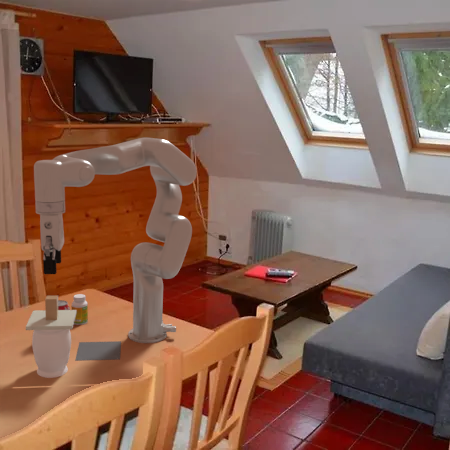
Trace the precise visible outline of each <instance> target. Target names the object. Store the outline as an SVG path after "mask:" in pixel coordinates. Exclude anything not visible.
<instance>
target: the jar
mask: <svg viewBox="0 0 450 450" xmlns="http://www.w3.org/2000/svg"><path fill="white" fill-rule="evenodd" d="M32 331H33V332H32V336H31V337H32V340H31V343H32V345H31V346H32V351H33V352H32V353H33V357H34V361H35V364H36V366H37V370H36V374H37V375H38V376H40V377H42V378H46V379H47V378H48V379H51V378H58V377H62V376H64V375H65V374H66V373H68V371H69V368H68V366H67V365H68V364H69V363H68V362H69V360H70V355H71V354H70V353H71V349H72V333H71V329H63V330H32Z"/></svg>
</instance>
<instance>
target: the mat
mask: <svg viewBox="0 0 450 450" xmlns="http://www.w3.org/2000/svg"><path fill="white" fill-rule="evenodd" d="M121 349H122V341H116V340H115V341H81V342H79V343H78V346H77V351H76V356H75V362H76V361H79V362H80V361H111V360H112V361H113V360H114V361H115V360H116V361H117V360H121V353H122V352H121Z"/></svg>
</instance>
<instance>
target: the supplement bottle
mask: <svg viewBox="0 0 450 450" xmlns="http://www.w3.org/2000/svg"><path fill="white" fill-rule="evenodd" d="M88 307H89V306H88V301H87V300H86V295H85V294H82V293H78V294H75V295H73V301H72V302H71V310H77V313H76V317H75V321H74V325H76V326H80V325H82V326H83V325H86V324H87V323H88V322H89V320H88V319H89V312H88V311H89V309H88ZM74 325H73V326H74Z"/></svg>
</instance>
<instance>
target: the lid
mask: <svg viewBox="0 0 450 450" xmlns="http://www.w3.org/2000/svg"><path fill="white" fill-rule="evenodd" d="M58 300H59V295H46V297H45V299H44V301H45V306H44V307H45V308H44V310H41V309H40V310H39V309H38V310H37V309H36V310H35V309H34V310H33V311H32V312H31V314H30V316H29V318H28V320H27V323H26V325H25V331H34V330H63V329H70V330H73V328H74V321H75V317H76V313H77V310H72V309H70V310H58Z"/></svg>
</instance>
